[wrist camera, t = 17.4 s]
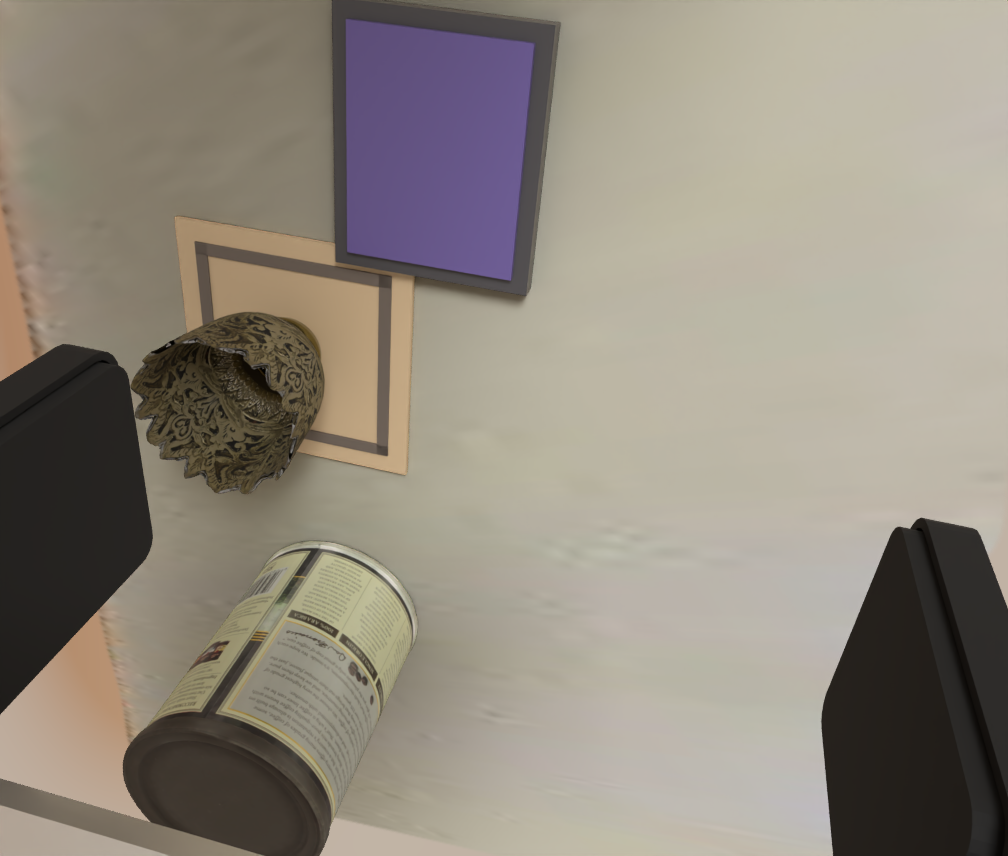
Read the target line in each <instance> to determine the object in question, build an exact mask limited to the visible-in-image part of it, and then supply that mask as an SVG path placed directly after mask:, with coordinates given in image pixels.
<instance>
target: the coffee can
mask: <svg viewBox="0 0 1008 856" xmlns="http://www.w3.org/2000/svg"><path fill="white" fill-rule="evenodd" d="M417 627H418V624H417V616H416V612H415V608H414V605H413V603H412V600H411V598H410V596H409V594H408V593H407V592H406V590H405V589H404V587H403V586H402V584H401V583H400V582H399V581H398V579H397V578H396V577H395V576H394V575H393V574H392V573H391V572H390V571H388V570H387V569H386V568H385V567H384V566H382V565H381V564H380V563H378V562H377V561H375V560H374V559H372V558H370V557H369V556H367V555H365V554H364V553H362V552H359V551H356V550H354V549H351V548H349V547H346V546H343V545H339V544H336V543H331V542H323V541H306V542H299V543H296V544H293V545H290V546H287V547H285V548H283V549H281V550H280V551H278V552H277V553H275V554H274V555H273V556H272V557H271V558H270V559H269V560H268V561H267V562H266V564H265V565H264V567H263V569H262V571H261V572H260V574H259V575H258V577H257V578H256V580H255V581H254V582H253V584H252V585H251V586H250V588H249V589H248V590H247V592H246V593H245V595H244V596H243V597H242V599H241V600H240V601H239V603H238V604H237V605H236V607H235V608H234V610H233V611H232V612H231V614H230V615H229V616H228V618H227V619H226V620H225V622H224V623H223V624H222V626H221V627H220V629H219V630H218V631H217V633H216V634H215V635H214V637H213V638H212V639H211V641H210V642H209V643H208V645H207V646H206V648H205V649H204V650H203V652H202V653H201V654H200V656H199V657H198V658H197V660H196V661H195V663H194V664H193V665H192V667H191V668H190V669H189V671H188V672H187V673H186V675H185V676H184V678H183V679H182V680H181V682H180V683H179V684H178V686H177V687H176V688H175V690H174V691H173V692H172V694H171V695H170V697H169V698H168V699H167V701H166V702H165V703H164V705H163V706H162V707H161V709H160V710H159V711H158V713H157V714H156V716H155V717H154V718H153V720H152V721H151V722H150V724H149V725H148V726H147V728H145V729H144V730H143V731H141V732H140V733H139V734H138V735H137V737H136V738H135V739H134V740H133V741H132V742H131V744H130V745H129V747H128V748H127V750H126V753H125V756H124V760H123V776H124V781H125V784H126V787H127V789H128V791H129V793H130V796H131V797H132V798H133V800H134V802H135V803H136V805H137V806H138V808H139V809H140V810H141V811H142V813H143V814H144V815H145V816H146V817H147V818H148V820H149V821H150V822H151V823H154V824H158V825H161V826H165V827H168V828H171V829H175V830H178V831H182V832H185V833H188V834H192V835H195V836H199V837H202V838H205V839H209V840H212V841H216V842H219V843H222V844H226V845H229V846H233V847H236V848H239V849H243V850H246V851H249V852H253V853H256V854H260V855H263V856H319V855H320V854H321V852H322V850H323V848H324V845H325V843H326V840H327V838H328V835H329V830H330V826H331V823H332V821H333V819H334V817H335V815H336V813H337V810H338V808H339V806H340V804H341V802H342V799H343V797H344V795H345V793H346V791H347V788H348V786H349V784H350V782H351V780H352V777H353V775H354V773H355V771H356V768H357V766H358V764H359V762H360V759H361V757H362V755H363V753H364V751H365V748H366V746H367V744H368V742H369V739H370V737H371V735H372V733H373V731H374V728H375V726H376V724H377V722H378V720H379V717H380V715H381V713H382V710H383V708H384V706H385V704H386V702H387V699H388V697H389V695H390V693H391V691H392V688H393V686H394V684H395V682H396V679H397V677H398V675H399V673H400V670H401V668H402V666H403V664H404V662H405V660H406V657H407V655H408V654H409V652H410V651H411V649H412V647H413V645H414V643H415V640H416V636H417Z"/></svg>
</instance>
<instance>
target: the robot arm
mask: <svg viewBox="0 0 1008 856" xmlns="http://www.w3.org/2000/svg"><path fill="white" fill-rule="evenodd" d="M152 539H153V534H152V526H151V520H150V513H149V507H148V500H147V494H146V488H145V481H144V475H143V468H142V462H141V455H140V449H139V442H138V436H137V430H136V423H135V417H134V410H133V404H132V397H131V391H130V385H129V379H128V375H127V373H126V371H125V370H124V369H123V368H122V367H120V366H118V362H117V361H116V359H115V358H114V356H113V355H111V354H110V353H108V352H104V351H99V350H94V349H89V348H85V347H80V346H75V345H69V344H62V345H60V346H57V347H55V348H54V349H52V350H50V351H49V352H47V353H46V354H44V355H42V356H41V357H39V358H37V359H36V360H34V361H33V362H31V363H29V364H28V365H26V366H25V367H23V368H21V369H20V370H18V371H17V372H15V373H13V374H12V375H10V376H9V377H7V378H5V379H4V380H2V381H0V714H1V713H2V712H3V711H4V710H5V709H6V708H7V706H8V705H9V704H10V703H11V702H12V701H13V700H14V699H15V698H16V697H17V696H18V695H19V694H20V693H21V692H22V691H23V690H24V688H25V687H26V686H27V685H28V684H29V683H30V682H31V681H32V680H33V679H34V678H35V677H36V676H37V675H38V674H39V672H40V671H41V670H42V669H43V668H44V667H45V666H46V665H47V664H48V663H49V662H50V661H51V660H52V659H53V658H54V656H55V655H56V654H57V653H58V652H59V651H60V650H61V649H62V648H63V647H64V646H65V645H66V644H67V643H68V642H69V640H70V639H71V638H72V637H73V636H74V635H75V634H76V633H77V632H78V631H79V630H80V629H81V628H82V627H83V626H84V625H85V623H86V622H87V621H88V620H89V619H90V618H91V617H92V616H93V615H94V614H95V613H96V612H97V611H98V610H99V609H100V607H101V606H102V605H103V604H104V603H105V602H106V601H107V600H108V599H109V598H110V597H111V596H112V595H113V594H114V593H115V591H116V590H117V589H118V588H119V587H120V586H121V585H122V584H123V583H124V582H125V581H126V580H127V579H128V578H129V577H130V575H131V574H132V573H133V572H134V571H135V570H136V569H137V568H138V567H139V566H140V565H141V564H142V563H143V561H144V560H145V559H146V557H147V555H148V553H149V551H150V548H151V545H152ZM821 722H822V737H823V748H824V759H825V770H826V781H827V792H828V803H829V814H830V825H831V836H832V847H833V856H1008V608H1007V605H1006V603H1005V600H1004V597H1003V595H1002V592H1001V589H1000V587H999V584H998V581H997V579H996V576H995V573H994V571H993V568H992V565H991V563H990V560H989V557H988V555H987V552H986V549H985V547H984V544H983V541H982V539H981V536H980V534H979V533H978V531H977V530H975V529H973V528H969V527H964V526H959V525H954V524H949V523H944V522H939V521H934V520H929V519H925V518H920V519H917V520H916V521H915V523H914V524H913V525H912V527H911V529H908V528H903V527H897V528H895V530H894V531H893V532H892V534H891V536H890V538H889V541H888V543H887V546H886V548H885V551H884V553H883V555H882V558H881V560H880V563H879V565H878V568H877V570H876V573H875V575H874V578H873V580H872V582H871V585H870V587H869V590H868V592H867V595H866V597H865V600H864V602H863V605H862V607H861V609H860V612H859V614H858V617H857V619H856V622H855V624H854V627H853V629H852V632H851V634H850V637H849V639H848V641H847V644H846V646H845V649H844V651H843V654H842V656H841V659H840V661H839V664H838V666H837V668H836V671H835V673H834V676H833V678H832V681H831V683H830V686H829V688H828V691H827V693H826V696H825V700H824V704H823V710H822V721H821ZM0 856H263V855H260V854H256V853H253V852H249V851H246V850H243V849H239V848H236V847H233V846H229V845H226V844H222V843H219V842H216V841H212V840H209V839H205V838H202V837H199V836H195V835H192V834H188V833H185V832H182V831H178V830H175V829H171V828H168V827H165V826H161V825H158V824H154V823H151V822H148V821H144V820H141V819H137V818H134V817H130V816H127V815H124V814H120V813H116V812H114V811H110V810H106V809H103V808H100V807H96V806H93V805H89V804H86V803H83V802H79V801H76V800H73V799H69V798H66V797H62V796H58V795H55V794H52V793H48V792H45V791H42V790H38V789H34V788H31V787H28V786H24V785H21V784H17V783H14V782H10V781H7V780H3V779H0Z"/></svg>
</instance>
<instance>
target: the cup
mask: <svg viewBox="0 0 1008 856" xmlns="http://www.w3.org/2000/svg"><path fill="white" fill-rule="evenodd" d="M143 362H144V363H145V364H144V365H143V366H142V367H141V369H139V371H138V372H137V373H136V375H135V377H134V379H133V381H132V384H131V389H132V390H133V391H134V392H135V393H136V394H139V395H140V396H141V398H142V399H143V401H142V403H141V404H139V405H138V407H137V409H136V412H135V417H136V418H138V419H141V420H142V419H144V420H146V419H151V418H152V421H151V423H150V425H149V427H148V429H147V431H146V436H147V441H148V442H149V443H150V444H153V445H154V446H159V447H160V448H159V449H161V451H160V459H165V460H177V461H181V460H184V459H186V460H187V461H186V465H185V467H184V470H185V472H184V477H185V478H186V479H187V478H192V477H195V476H197V475H200V474H201V475H202V476H203V477H204V478H205V480H206V484H207V485H208V486H209V487H211V488H212V490H213V491H214V492H215V493H225V492H229V491H235V490H239V491H241V493H243V494H249V493H251V492H252V491H254V490H255V489H256V487H257V486H258V484H260V483H261V481H262V480H264V479H267V478H268V479H271V478H273V477H274V476H275V475H276V474H277V476H276V479H275V480H277V479H279V478H280V476H281V475H282V474H283V472H284V471H285V469H287V467H288V466H289V464H290V461H291V459H292V458H293V456H294V455H295V453H296V451H297V450H298V448H299V447H300V445H301V443H302V442H303V440H304V438H305V437H306V435H307V433H308V432H309V430H310V428H311V426H312V424H313V423H314V421H315V419H316V416H317V414H318V412H319V410H320V407H321V403H322V400H323V396H324V386H325V378H324V371H323V366H322V363H321V348H320V345H319V342H318V340H317V338H316V336H315V335H314V333H313V332H312V331H311V330H310V329H309V328H308V327H307V326H306V325H304V324H303V323H301V322H300V321H298V320H295V319H293V318H288V317H276V316H273V315H270V314H266V313H260V312H240V313H235V314H231V315H227V316H224V317H221V318H218V319H216V320H213V321H211V322H209V323H206V324H204V325H202V326H200V327H198V328H196V329H194V330H192V331H190V332H188V333H186V334H184V335H182V336H180V337H178V338H176V339H174V340H172V341H170V342H169V343H167V344H165V345H164V346H163V347H161V348H159V349H157V350H155V351H152V352H150V353H149V354H148V355H147V356H146V357H145V358H144V359H143ZM150 416H154V417H150Z"/></svg>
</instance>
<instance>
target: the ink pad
mask: <svg viewBox="0 0 1008 856" xmlns="http://www.w3.org/2000/svg"><path fill="white" fill-rule="evenodd" d="M559 31H560V22H553V21H545V20H537V19H529V18H521V17H513V16H505V15H497V14H489V13H481V12H473V11H466V10H458V9H450V8H442V7H434V6H426V5H418V4H410V3H402V2H394V1H386V0H332V41H333V115H334V190H335V262H338V263H344V264H349V265H355V266H361V267H366V268H372V269H378V270H383V271H389V272H394V273H400V274H406V275H411V276H417V277H423V278H428V279H434V280H440V281H445V282H451V283H456V284H462V285H468V286H473V287H479V288H485V289H490V290H496V291H501V292H507V293H513V294H518V295H524V296H526V295H527V294H528V292H529V290H530V288H531V282H532V273H533V264H534V255H535V246H536V237H537V228H538V219H539V210H540V201H541V192H542V183H543V174H544V166H545V157H546V148H547V139H548V130H549V121H550V112H551V103H552V94H553V85H554V76H555V67H556V58H557V49H558V40H559Z"/></svg>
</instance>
